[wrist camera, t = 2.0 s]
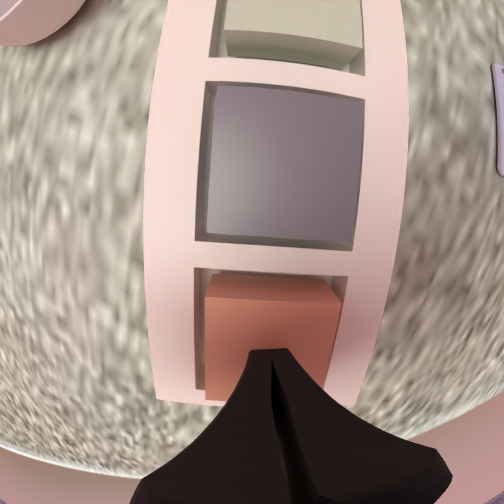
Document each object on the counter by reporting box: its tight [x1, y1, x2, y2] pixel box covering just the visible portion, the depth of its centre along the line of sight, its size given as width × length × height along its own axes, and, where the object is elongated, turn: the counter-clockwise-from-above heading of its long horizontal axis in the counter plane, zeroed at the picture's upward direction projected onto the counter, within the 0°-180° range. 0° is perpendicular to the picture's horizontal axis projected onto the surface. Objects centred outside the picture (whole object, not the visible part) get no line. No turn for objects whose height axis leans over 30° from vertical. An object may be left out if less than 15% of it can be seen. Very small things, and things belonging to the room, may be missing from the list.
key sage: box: [224, 0, 363, 69], centre depth 8 cm, size 5×5×2 cm
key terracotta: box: [205, 273, 341, 401], centre depth 12 cm, size 5×5×2 cm
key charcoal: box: [207, 86, 363, 243], centre depth 10 cm, size 5×5×2 cm
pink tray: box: [143, 0, 409, 406], centre depth 12 cm, size 10×22×3 cm, turn 176°
